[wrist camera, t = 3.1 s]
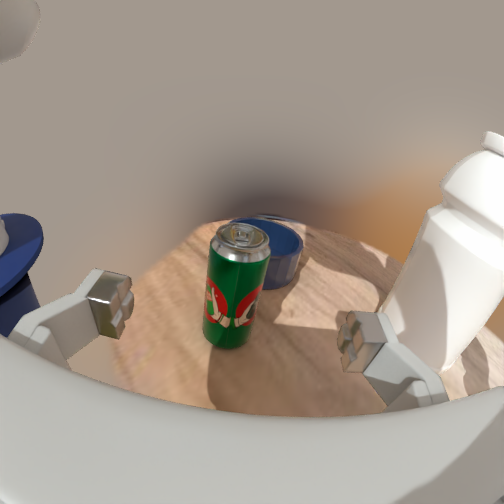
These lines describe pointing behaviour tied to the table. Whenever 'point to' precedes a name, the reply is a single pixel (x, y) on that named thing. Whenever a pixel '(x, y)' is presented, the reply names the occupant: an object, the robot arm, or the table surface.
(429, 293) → the bottle
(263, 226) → the bowl
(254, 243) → the soda can
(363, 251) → the table surface
